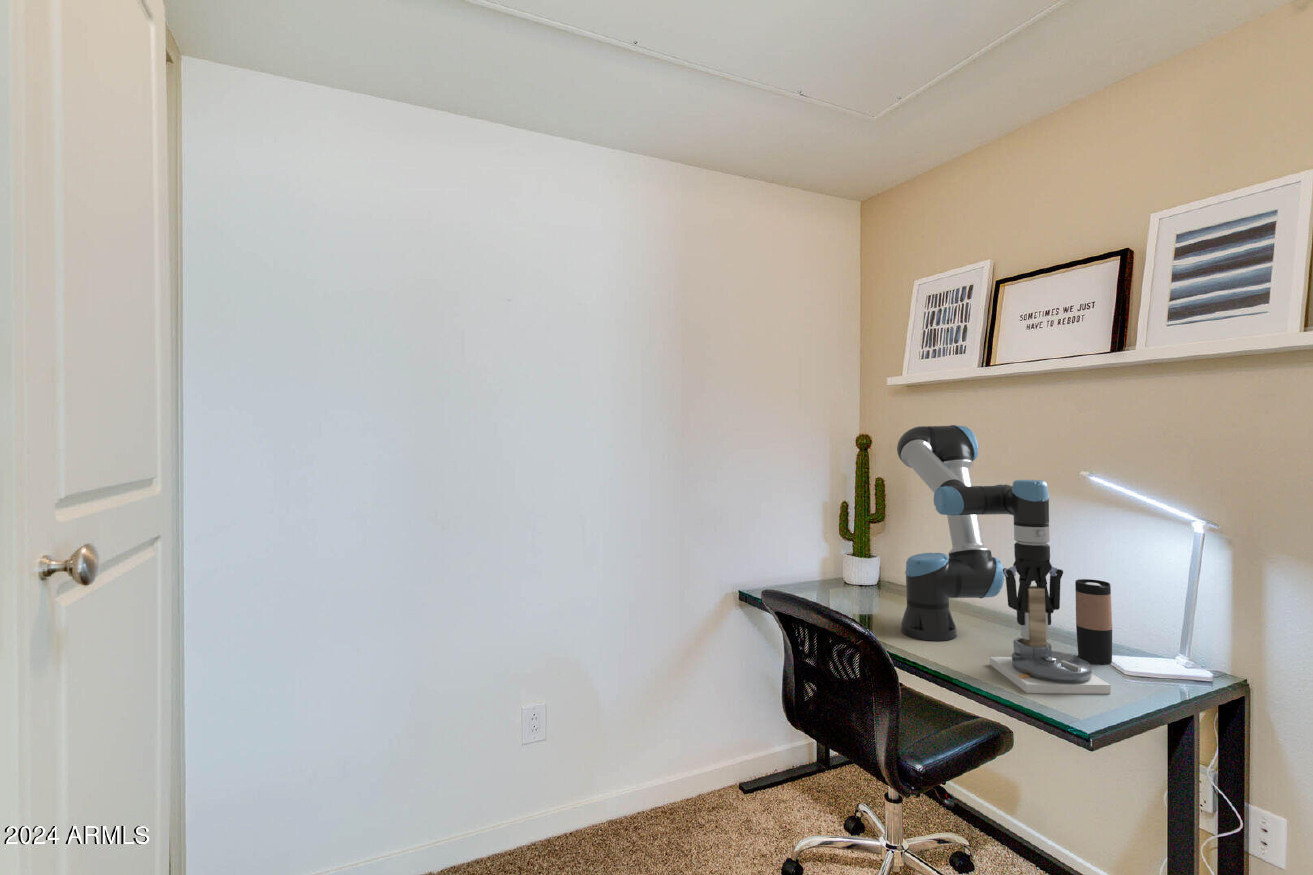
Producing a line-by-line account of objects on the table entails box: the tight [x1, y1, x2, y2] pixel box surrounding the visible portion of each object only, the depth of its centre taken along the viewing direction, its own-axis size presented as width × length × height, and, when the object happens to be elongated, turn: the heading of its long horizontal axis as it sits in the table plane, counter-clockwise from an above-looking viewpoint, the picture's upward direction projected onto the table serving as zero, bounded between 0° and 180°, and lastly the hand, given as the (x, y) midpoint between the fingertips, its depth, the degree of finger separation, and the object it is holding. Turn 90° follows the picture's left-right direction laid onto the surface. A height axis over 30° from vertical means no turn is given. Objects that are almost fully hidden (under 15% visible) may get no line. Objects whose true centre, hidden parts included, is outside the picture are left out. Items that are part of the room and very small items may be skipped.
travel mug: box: [1074, 578, 1113, 665], centre depth 159 cm, size 8×8×20 cm
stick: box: [1022, 585, 1047, 646], centre depth 151 cm, size 4×4×16 cm
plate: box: [989, 656, 1112, 695], centre depth 148 cm, size 18×18×2 cm
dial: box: [1011, 637, 1093, 682], centre depth 147 cm, size 16×16×5 cm
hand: (1034, 637), depth 151 cm, fingers closed on stick, 4 cm apart
